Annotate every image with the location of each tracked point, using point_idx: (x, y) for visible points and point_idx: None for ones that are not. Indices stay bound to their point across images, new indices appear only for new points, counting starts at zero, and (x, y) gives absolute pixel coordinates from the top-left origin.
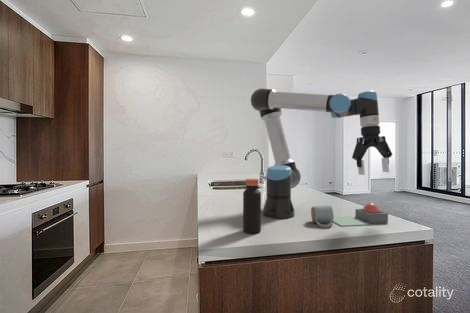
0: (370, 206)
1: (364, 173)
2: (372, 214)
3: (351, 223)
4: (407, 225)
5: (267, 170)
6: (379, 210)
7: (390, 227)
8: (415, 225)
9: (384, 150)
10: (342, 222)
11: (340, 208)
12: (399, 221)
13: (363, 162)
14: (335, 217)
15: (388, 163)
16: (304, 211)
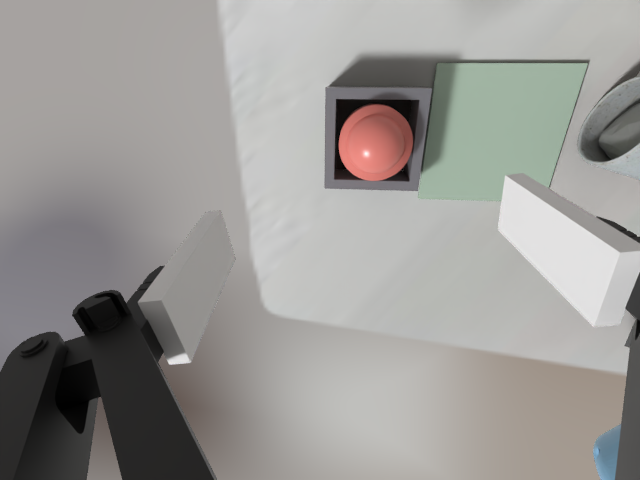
0: (396, 129)
1: (513, 179)
2: (412, 88)
3: (514, 85)
4: (273, 30)
5: None
6: (351, 115)
7: (373, 12)
8: (238, 25)
9: (127, 406)
10: (541, 107)
11: (368, 308)
12: (263, 95)
13: (597, 230)
14: None
15: (159, 272)
16: (551, 295)
